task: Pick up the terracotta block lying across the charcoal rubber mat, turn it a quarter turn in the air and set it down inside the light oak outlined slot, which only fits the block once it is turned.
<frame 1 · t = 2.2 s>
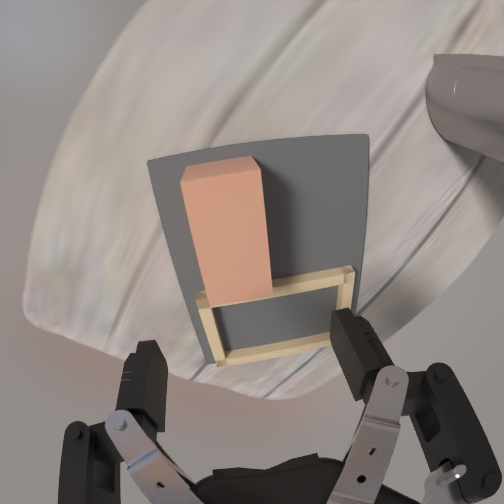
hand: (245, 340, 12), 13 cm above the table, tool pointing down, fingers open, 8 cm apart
terracotta block: (228, 219, 23), resting on mat
mat: (274, 269, 27), on the table
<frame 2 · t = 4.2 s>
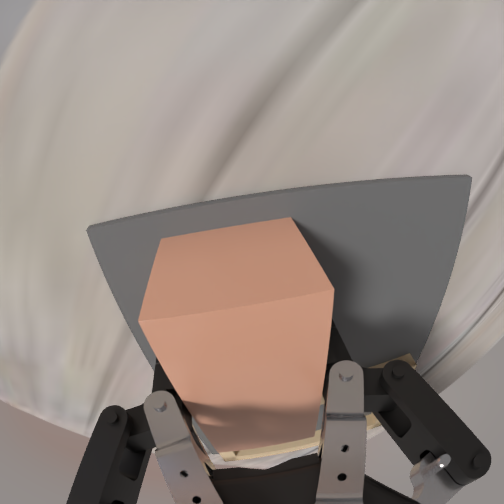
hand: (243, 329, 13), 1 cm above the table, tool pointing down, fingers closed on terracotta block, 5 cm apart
terracotta block: (242, 323, 13), resting on mat, touching gripper
mat: (309, 372, 17), on the table
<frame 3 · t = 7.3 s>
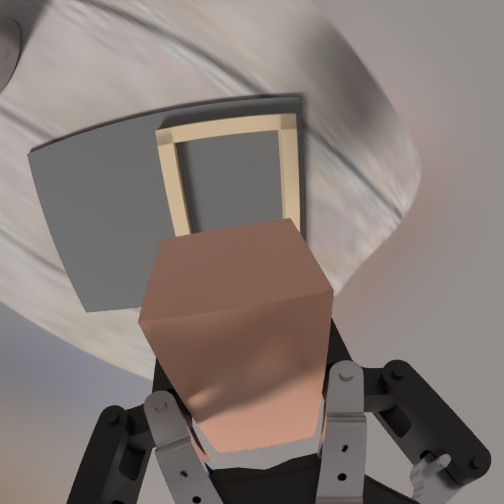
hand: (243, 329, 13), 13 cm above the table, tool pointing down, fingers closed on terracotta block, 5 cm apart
terracotta block: (242, 323, 13), point 13 cm above the table, touching gripper
mat: (166, 218, 24), on the table
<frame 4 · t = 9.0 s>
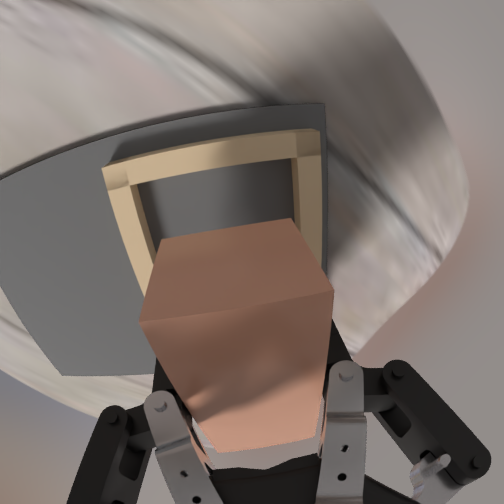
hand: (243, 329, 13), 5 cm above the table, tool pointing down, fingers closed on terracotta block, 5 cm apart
terracotta block: (243, 323, 13), point 5 cm above the table, touching gripper
mat: (136, 282, 17), on the table
when the fingers open (3 cm above the table, at t = 10.4 s): terracotta block drops 2 cm, resting on mat.
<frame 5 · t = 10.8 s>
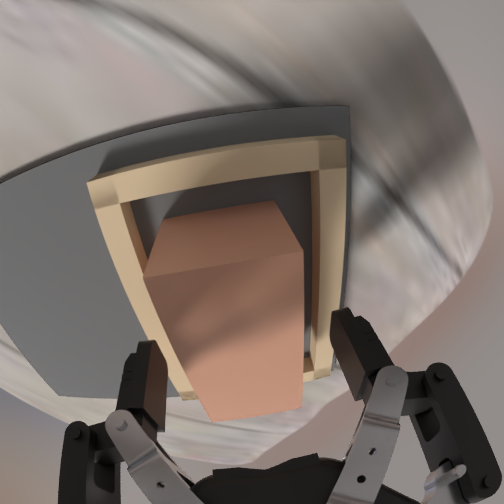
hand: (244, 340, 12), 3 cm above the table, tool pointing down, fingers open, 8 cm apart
terracotta block: (234, 297, 15), resting on mat
mat: (133, 307, 15), on the table
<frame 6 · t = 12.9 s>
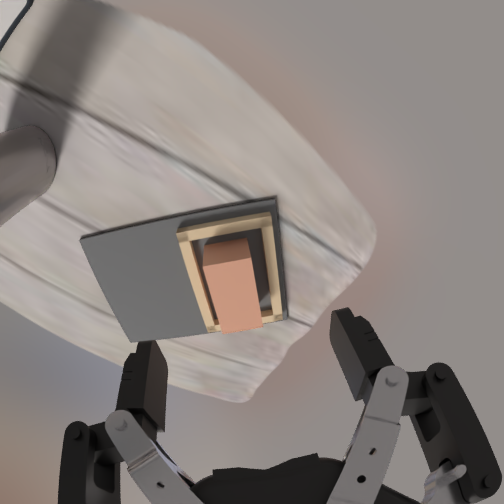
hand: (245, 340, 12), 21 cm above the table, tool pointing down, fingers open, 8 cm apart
terracotta block: (233, 276, 35), resting on mat
mat: (187, 282, 35), on the table
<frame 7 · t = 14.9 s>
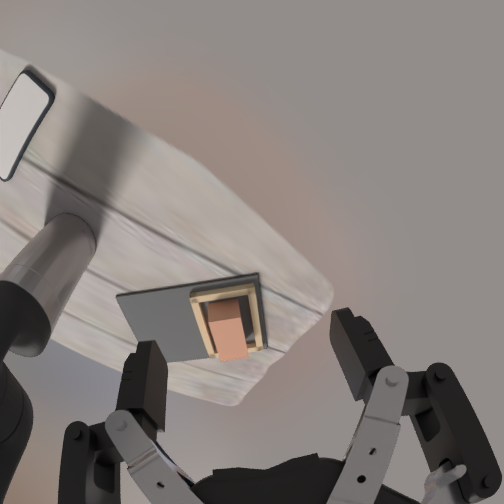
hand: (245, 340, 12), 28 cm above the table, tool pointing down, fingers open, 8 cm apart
terracotta block: (228, 322, 49), resting on mat
mat: (195, 325, 49), on the table
phone case: (16, 125, 27), on the table
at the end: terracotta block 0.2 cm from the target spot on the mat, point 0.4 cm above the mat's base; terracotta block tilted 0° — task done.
